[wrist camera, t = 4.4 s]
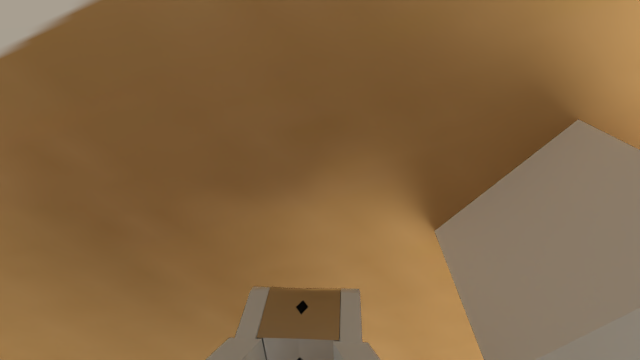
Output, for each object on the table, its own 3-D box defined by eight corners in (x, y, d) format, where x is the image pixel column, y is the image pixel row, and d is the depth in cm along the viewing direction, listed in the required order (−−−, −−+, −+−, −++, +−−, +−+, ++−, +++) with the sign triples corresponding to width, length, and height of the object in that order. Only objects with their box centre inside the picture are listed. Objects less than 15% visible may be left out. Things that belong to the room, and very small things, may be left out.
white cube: (526, 304, 15) (628, 475, 9) (433, 229, 13) (490, 382, 8) (671, 220, 12) (919, 387, 7) (577, 117, 11) (799, 228, 5)
